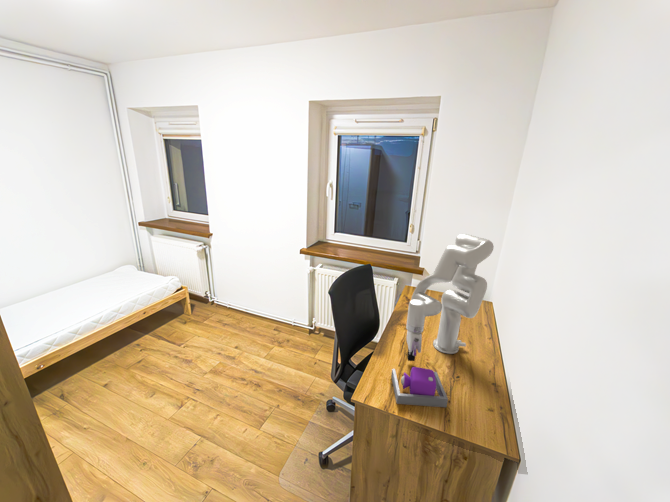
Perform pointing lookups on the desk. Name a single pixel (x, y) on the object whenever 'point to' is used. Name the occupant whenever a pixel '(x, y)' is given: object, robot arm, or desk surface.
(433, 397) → the cradle
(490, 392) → the desk surface
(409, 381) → the toy camera
